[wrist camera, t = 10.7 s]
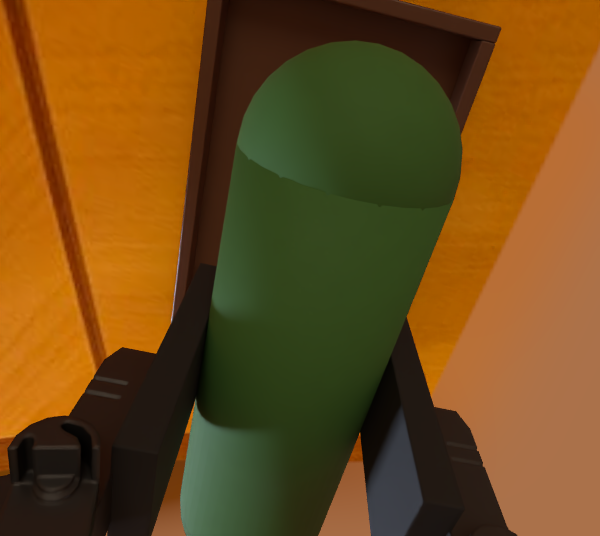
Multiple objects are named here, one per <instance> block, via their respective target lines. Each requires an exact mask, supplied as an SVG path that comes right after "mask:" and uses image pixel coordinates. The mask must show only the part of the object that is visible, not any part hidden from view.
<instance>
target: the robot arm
mask: <svg viewBox="0 0 600 536" xmlns="http://www.w3.org/2000/svg"><path fill="white" fill-rule="evenodd" d="M216 268H217V266H213V265H208V264H204V263H200V265H199V267H198V269H197V271H196V273H195V275H194V277H193V279H192V281H191V284H190V286H189V288H188V290H187V292H186V294H185V296H184V298H183V300H182V302H181V304H180V306H179V308H178V310H177V312H176V314H175V316H174V319H173V321H172V323H171V325H170V327H169V329H168V331H167V333H166V335H165V337H164V339H163V341H162V343H161V345H160V347H159V349H158V351H157V353H156V354H154V353H149V352H144V351H139V350H134V349H129V348H123V347H122V348H120V349H119V350H118V351H116V352H115V353H113V354H112V355H110V356H109V357H108V358H106V359H105V360H104V361H103V363H102V364H101V366H100V367H99V369H98V371H97V372H96V374H95V375H94V378H93V380H91V382H90V383H89V385H88V386H87V388H86V390H85V393H84V394H82V396H81V397H80V399H79V401H78V402H77V404H76V405H75V407H74V409H73V410H72V412H71V413H70V415H69V416H58V417H50V418H46V419H43V420H41V421H38V422H36V423H33V424H31V425H29V426H28V427H27V428H25V429H24V430H23V431H21V432H20V433H19V434H17V435H16V437H15V438H14V440H13V441H12V443H11V444H10V446H9V447H8V448H7V449H8V459H9V468H10V474H8V475H5V476H0V536H105V535H106V533H107V536H151V535H152V532H153V529H154V526H155V523H156V520H157V516H158V513H159V510H160V507H161V504H162V501H163V498H164V495H165V492H166V489H167V485H168V482H169V479H170V476H171V473H172V470H173V467H174V464H175V461H176V458H177V455H178V451H179V448H180V445H181V442H182V439H183V436H184V433H185V430H186V427H187V424H188V420H189V417H190V414H191V411H192V408H193V405H194V402H195V399H196V395H197V388H198V382H199V376H200V370H201V363H202V357H203V351H204V345H205V338H206V332H207V326H208V320H209V312H210V306H211V300H212V293H213V287H214V281H215V275H216ZM360 435H361V445H362V454H363V464H364V473H365V483H366V492H367V502H368V511H369V520H370V530H371V536H517V535H516V534H515V533H513V532H511V531H510V530H508V527H507V526H506V523H505V520H504V517H503V515H502V512H501V509H500V507H499V504H498V502H497V499H496V496H495V494H494V491H493V488H492V486H491V483H490V480H489V478H488V475H487V473H486V470H485V468H484V467H483V462H482V459H481V457H480V454H479V451H477V446H476V443H475V441H474V438H473V436H472V433H471V430H470V428H469V427H468V426H467V425H466V423H465V422H464V421H463V419H462V418H460V416H459V414H458V413H457V412H456V411H452V410H446V409H441V408H436V407H434V405H433V402H432V399H431V396H430V392H429V389H428V386H427V382H426V379H425V376H424V373H423V369H422V366H421V363H420V360H419V356H418V353H417V350H416V347H415V343H414V340H413V337H412V333H411V330H410V327H409V324H408V320H407V317H406V319H405V322H404V324H403V326H402V329H401V331H400V334H399V336H398V339H397V341H396V344H395V346H394V349H393V351H392V354H391V356H390V359H389V361H388V364H387V366H386V369H385V371H384V374H383V376H382V379H381V381H380V384H379V386H378V388H377V391H376V393H375V396H374V398H373V401H372V403H371V406H370V408H369V411H368V413H367V416H366V418H365V421H364V423H363V426H362V428H361V431H360ZM107 530H108V532H107Z"/></svg>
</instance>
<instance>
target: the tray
mask: <svg viewBox="0 0 600 536" xmlns="http://www.w3.org/2000/svg"><path fill="white" fill-rule="evenodd" d="M500 31H501V27H499V26H495V25H491V24H487V23H483V22H479V21H476V20H472V19H468V18H464V17H460V16H457V15H453V14H449V13H445V12H441V11H437V10H434V9H430V8H426V7H422V6H418V5H415V4H411V3H407V2H403V1H399V0H208V1H207V10H206V19H205V27H204V36H203V45H202V54H201V63H200V72H199V81H198V89H197V98H196V107H195V116H194V125H193V134H192V143H191V152H190V160H189V169H188V178H187V187H186V196H185V205H184V214H183V223H182V231H181V240H180V249H179V258H178V267H177V276H176V285H175V293H174V302H173V311H172V320H171V323H172V321H173V319H174V316H175V314H176V312H177V310H178V308H179V306H180V304H181V302H182V300H183V298H184V296H185V294H186V292H187V290H188V288H189V286H190V284H191V281H192V279H193V277H194V275H195V273H196V271H197V269H198V267H199V265H200V263H204V264H208V265H213V266H217V262H218V256H219V249H220V243H221V237H222V231H223V224H224V218H225V212H226V206H227V199H228V193H229V187H230V181H231V174H232V168H233V162H234V155H235V149H236V143H237V139H238V136H239V132H240V128H241V125H242V121H243V117H244V114H245V112H246V110H247V108H248V106H249V104H250V102H251V100H252V98H253V96H254V95H255V93H256V92H257V91H258V89H259V88H260V87H261V86H262V84H263V83H264V82H265V80H266V79H267V78H268V77H269V76H270V75H271V74H272V73H273V72H274V71H276V70H277V69H278V68H279V67H280V66H281V65H283V64H284V63H285V62H286V61H288V60H289V59H291V58H293V57H295V56H297V55H298V54H300V53H302V52H304V51H306V50H308V49H311V48H314V47H317V46H321V45H324V44H327V43H331V42H341V41H354V40H356V41H363V42H370V43H377V44H381V45H384V46H386V47H389V48H392V49H394V50H397V51H400V52H402V53H404V54H405V55H407V56H408V57H410V58H411V59H413V60H414V61H416V62H417V63H419V64H420V65H422V66H423V67H424V68H425V69H426V70H427V71H428V72H429V73H430V74H431V75H432V76H433V78H434V79H435V80H436V81H437V82H438V83H439V84H440V86H441V87H442V89H443V91H444V92H445V94H446V95H447V97H448V99H449V100H450V102H451V104H452V106H453V109H454V112H455V115H456V118H457V121H458V123H459V127H460V135H461V133H462V130H463V128H464V125H465V122H466V120H467V117H468V115H469V112H470V109H471V107H472V104H473V102H474V99H475V96H476V94H477V91H478V88H479V86H480V83H481V81H482V78H483V75H484V73H485V70H486V67H487V65H488V62H489V60H490V57H491V54H492V52H493V49H494V46H495V44H494V43H496V41H497V39H498V36H499V33H500Z"/></svg>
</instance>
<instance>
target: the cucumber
mask: <svg viewBox="0 0 600 536" xmlns="http://www.w3.org/2000/svg"><path fill="white" fill-rule="evenodd" d="M461 162H462V142H461V135H460V127H459V123H458V121H457V118H456V115H455V112H454V109H453V106H452V104H451V102H450V100H449V99H448V97H447V95H446V94H445V92H444V91H443V89H442V87H441V86H440V84H439V83H438V82H437V81H436V80H435V79H434V78H433V76H432V75H431V74H430V73H429V72H428V71H427V70H426V69H425V68H424V67H423V66H422V65H420V64H419V63H417V62H416V61H414V60H413V59H411V58H410V57H408V56H407V55H405V54H404V53H402V52H400V51H397V50H394V49H392V48H389V47H386V46H384V45H381V44H377V43H370V42H363V41H356V40H354V41H341V42H331V43H327V44H324V45H321V46H317V47H314V48H311V49H308V50H306V51H304V52H302V53H300V54H298V55H297V56H295V57H293V58H291V59H289V60H288V61H286V62H285V63H284V64H283V65H281V66H280V67H279V68H278V69H277V70H276V71H274V72H273V73H272V74H271V75H270V76H269V77H268V78H267V79H266V80H265V82H264V83H263V84H262V86H261V87H260V88H259V89H258V91H257V92H256V93H255V95H254V96H253V98H252V100H251V102H250V104H249V106H248V108H247V110H246V112H245V114H244V117H243V121H242V125H241V128H240V132H239V136H238V139H237V143H236V149H235V155H234V162H233V168H232V174H231V181H230V187H229V193H228V199H227V206H226V212H225V218H224V224H223V231H222V237H221V243H220V249H219V256H218V262H217V268H216V275H215V281H214V287H213V293H212V300H211V306H210V312H209V320H208V326H207V332H206V338H205V345H204V351H203V357H202V363H201V370H200V376H199V382H198V388H197V395H196V400H195V406H194V412H193V419H192V425H191V431H190V438H189V444H188V450H187V456H186V463H185V469H184V476H183V482H182V488H181V498H180V501H181V520H182V523H183V527H184V531H185V533H186V536H318V534H319V532H320V530H321V527H322V525H323V522H324V520H325V517H326V515H327V512H328V510H329V507H330V505H331V503H332V500H333V498H334V495H335V492H336V490H337V488H338V485H339V483H340V480H341V477H342V474H343V473H344V470H345V468H346V465H347V463H348V460H349V458H350V455H351V453H352V450H353V448H354V445H355V443H356V441H357V438H358V436H359V433H360V431H361V428H362V426H363V423H364V421H365V418H366V416H367V413H368V411H369V408H370V406H371V403H372V401H373V398H374V396H375V393H376V391H377V388H378V386H379V384H380V381H381V379H382V376H383V374H384V371H385V369H386V366H387V364H388V361H389V359H390V356H391V354H392V351H393V349H394V346H395V344H396V341H397V339H398V336H399V334H400V331H401V329H402V326H403V324H404V322H405V319H406V317H407V314H408V312H409V309H410V307H411V304H412V302H413V299H414V297H415V294H416V292H417V289H418V287H419V284H420V282H421V279H422V277H423V274H424V272H425V269H426V267H427V265H428V262H429V260H430V257H431V255H432V252H433V250H434V247H435V245H436V242H437V240H438V237H439V235H440V232H441V230H442V227H443V225H444V222H445V220H446V217H447V215H448V212H449V210H450V207H451V205H452V203H453V200H454V197H455V193H456V190H457V187H458V183H459V180H460V174H461Z"/></svg>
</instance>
